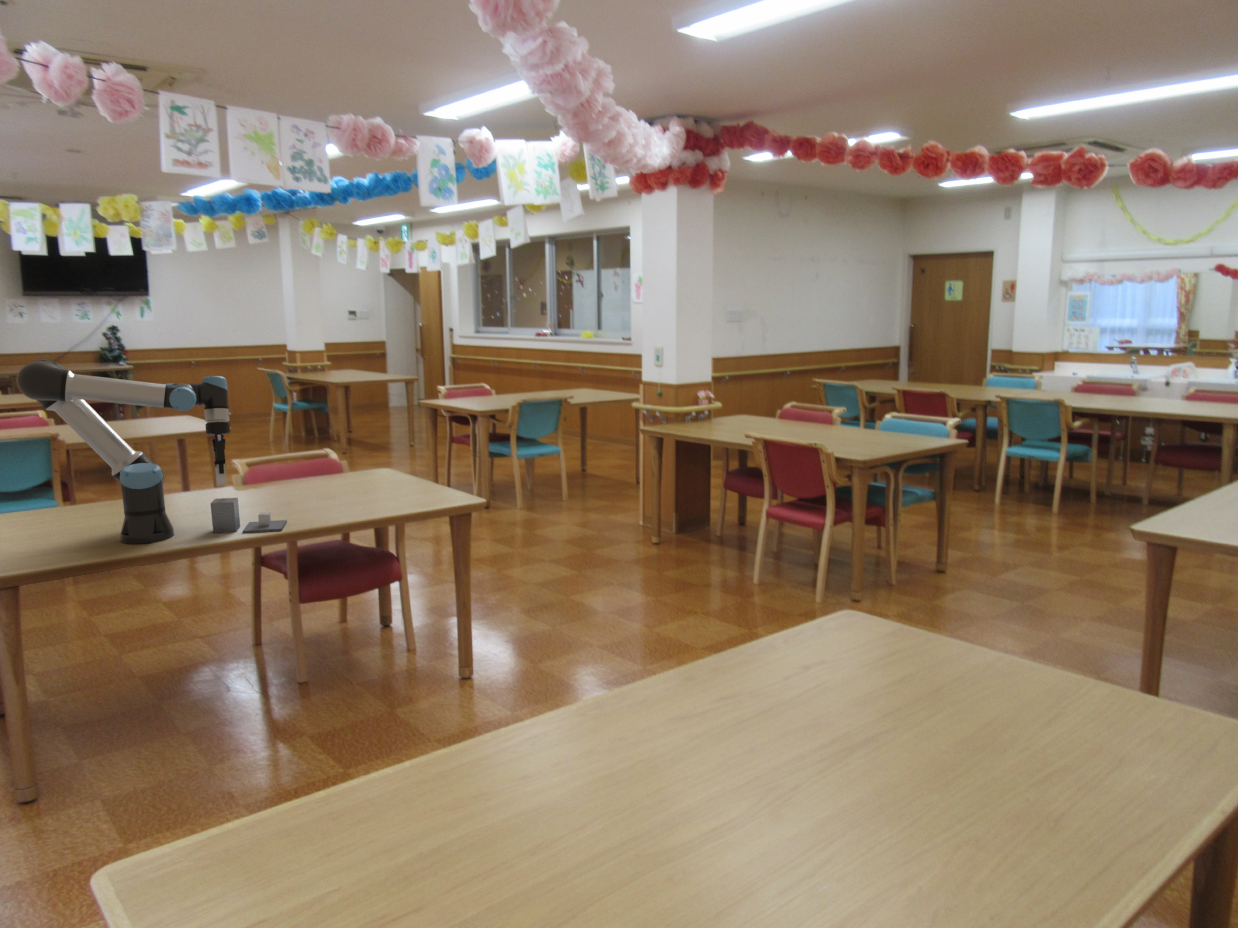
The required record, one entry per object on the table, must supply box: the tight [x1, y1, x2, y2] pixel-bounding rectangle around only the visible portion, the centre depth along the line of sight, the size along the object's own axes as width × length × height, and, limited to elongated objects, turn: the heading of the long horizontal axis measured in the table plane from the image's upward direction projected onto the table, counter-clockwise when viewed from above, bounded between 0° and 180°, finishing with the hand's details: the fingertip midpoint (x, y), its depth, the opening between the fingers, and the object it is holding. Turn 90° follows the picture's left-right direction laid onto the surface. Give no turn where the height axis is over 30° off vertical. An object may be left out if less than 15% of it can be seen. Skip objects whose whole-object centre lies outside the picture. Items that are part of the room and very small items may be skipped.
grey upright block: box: [210, 497, 241, 534], centre depth 291 cm, size 7×7×10 cm
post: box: [257, 511, 272, 527], centre depth 294 cm, size 3×3×4 cm
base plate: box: [242, 519, 288, 534], centre depth 294 cm, size 12×12×1 cm
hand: (221, 485), depth 296 cm, fingers open, 13 cm apart
